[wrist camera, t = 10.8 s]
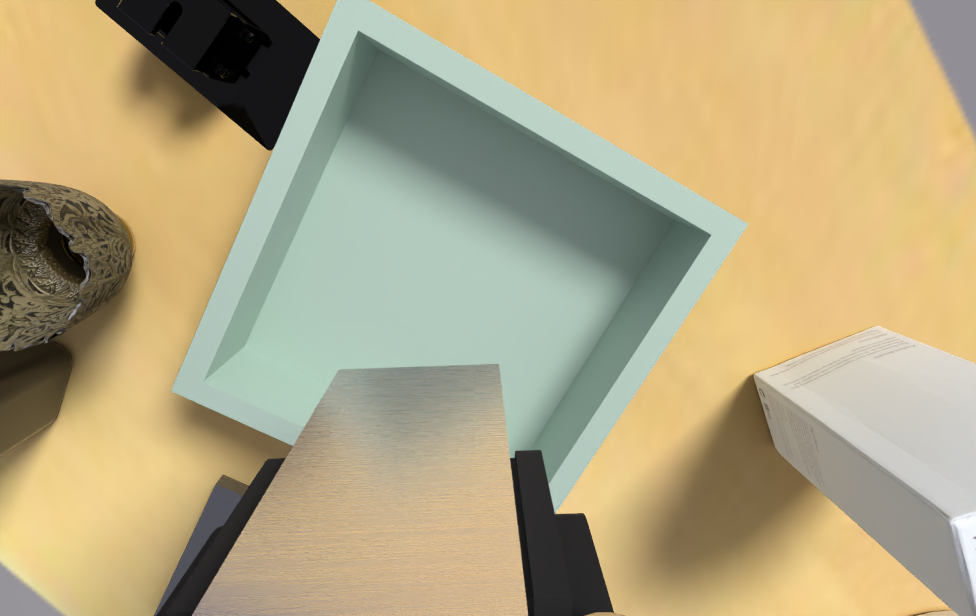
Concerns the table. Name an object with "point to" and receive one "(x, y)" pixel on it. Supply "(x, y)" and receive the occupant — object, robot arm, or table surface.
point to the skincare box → (888, 447)
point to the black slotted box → (227, 53)
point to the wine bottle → (30, 391)
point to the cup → (56, 260)
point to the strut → (386, 506)
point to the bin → (449, 249)
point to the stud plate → (207, 525)
